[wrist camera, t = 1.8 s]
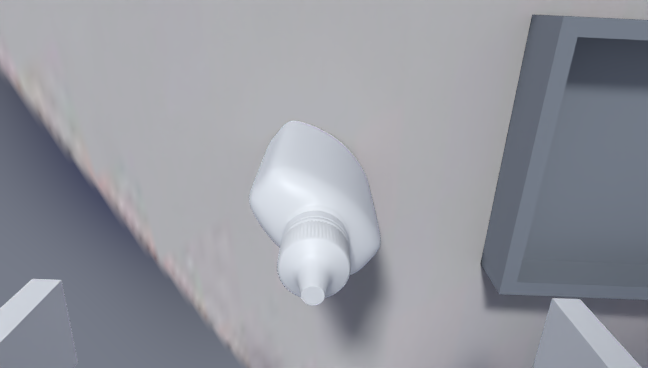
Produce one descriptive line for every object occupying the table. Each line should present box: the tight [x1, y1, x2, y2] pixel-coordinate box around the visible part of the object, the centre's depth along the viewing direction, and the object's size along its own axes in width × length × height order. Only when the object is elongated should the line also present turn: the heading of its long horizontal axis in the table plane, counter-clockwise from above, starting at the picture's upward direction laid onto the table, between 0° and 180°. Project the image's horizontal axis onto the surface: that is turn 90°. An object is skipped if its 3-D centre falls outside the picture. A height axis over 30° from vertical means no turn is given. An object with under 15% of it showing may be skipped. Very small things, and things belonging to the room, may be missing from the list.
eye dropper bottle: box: [249, 121, 381, 306], centre depth 19 cm, size 4×6×12 cm
